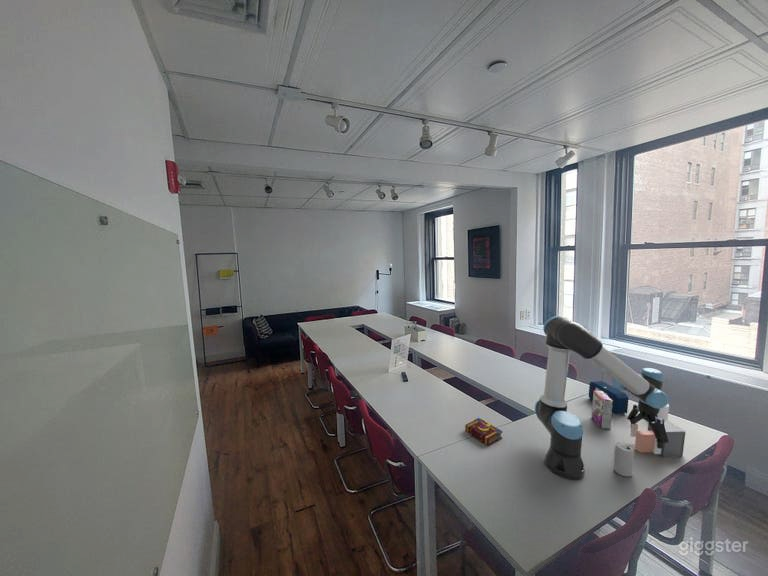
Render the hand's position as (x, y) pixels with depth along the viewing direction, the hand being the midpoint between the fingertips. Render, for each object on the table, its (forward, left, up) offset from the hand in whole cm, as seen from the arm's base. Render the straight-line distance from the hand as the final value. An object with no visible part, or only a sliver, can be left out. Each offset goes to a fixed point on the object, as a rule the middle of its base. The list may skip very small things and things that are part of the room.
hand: (644, 444), depth 143 cm
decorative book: (-72, +16, -4) cm, 74 cm away
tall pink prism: (+5, 0, -3) cm, 6 cm away
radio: (+12, +40, -4) cm, 42 cm away
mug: (+29, +27, -4) cm, 40 cm away
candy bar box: (-4, +23, -3) cm, 24 cm away
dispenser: (+9, 0, -3) cm, 10 cm away
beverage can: (-21, -13, -3) cm, 25 cm away
